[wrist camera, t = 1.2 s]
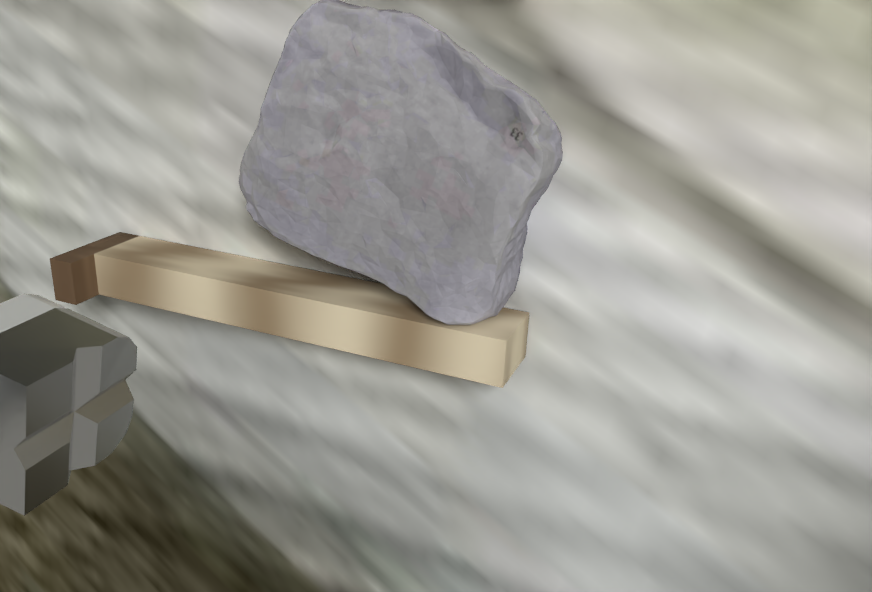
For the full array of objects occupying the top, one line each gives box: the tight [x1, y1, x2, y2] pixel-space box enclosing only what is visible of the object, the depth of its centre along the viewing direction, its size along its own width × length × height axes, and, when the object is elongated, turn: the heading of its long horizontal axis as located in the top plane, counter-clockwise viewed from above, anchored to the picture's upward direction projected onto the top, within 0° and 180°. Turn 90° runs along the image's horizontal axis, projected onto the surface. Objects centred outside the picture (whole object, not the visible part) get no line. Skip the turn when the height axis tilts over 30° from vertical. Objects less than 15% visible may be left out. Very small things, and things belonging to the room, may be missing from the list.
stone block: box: [239, 0, 563, 325], centre depth 32 cm, size 12×5×10 cm
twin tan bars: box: [50, 232, 529, 388], centre depth 33 cm, size 21×18×4 cm
